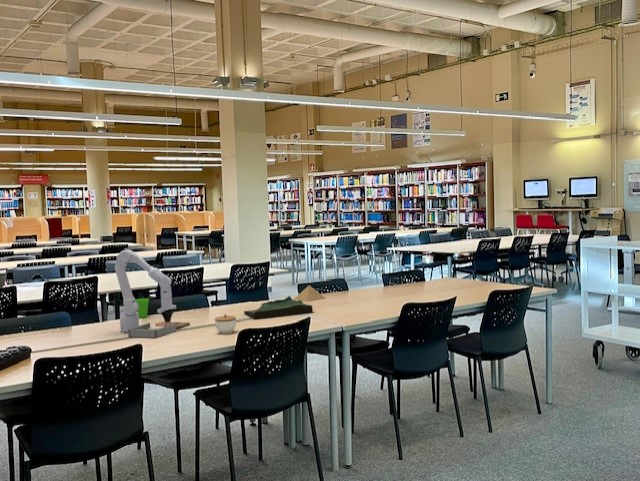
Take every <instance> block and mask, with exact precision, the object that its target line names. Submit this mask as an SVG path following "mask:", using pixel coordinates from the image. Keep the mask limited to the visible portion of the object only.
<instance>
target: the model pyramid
mask: <svg viewBox="0 0 640 481" xmlns="http://www.w3.org/2000/svg"><path fill="white" fill-rule="evenodd" d="M326 299H327V298H326V297H325V296H323V295H322V294H321V293H320V292H319V291H317V290H316V289H315V288H313V287H312V286H311V285H308V286H306V288H304V289H303V290H302V291H301V292H300V293H299V294H297V296H295V297H294V298H292V300H295V301H298V300H301V301H302V302H307V303H308V302H309V303H310V302H313V301H320V300H326Z"/></svg>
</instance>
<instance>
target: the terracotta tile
mask: <svg viewBox="0 0 640 481" xmlns="http://www.w3.org/2000/svg"><path fill="white" fill-rule="evenodd" d="M171 322H172V321H170V322H165V321H160V322H157V323H155V326H165V327H166V326H169V325H171Z"/></svg>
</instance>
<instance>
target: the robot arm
mask: <svg viewBox="0 0 640 481" xmlns="http://www.w3.org/2000/svg"><path fill="white" fill-rule="evenodd" d="M115 260H116V261H115V262H114V263H115V265H114V271H115V274H116V278H117V281H118V285H119V289H120V292H121V294H122V298H123V301H122V302H123V303H122V304H123V309H122V310H123V313H124V314H122V315H121V316H120V319H119V325H120V326H119V327H120V330H119V332H120V333H128V329H131V328H134V327H137V326H140V318H139V315H138V312H137V310H138V308H139V305H138V303H137V302H136V301H135V300H136V298H135V296H134V295H133V292H132V287H131V285H130V282H129V278H128V274H127V271H126V267H127V265H128V263H133V264H137V265H139V267H141V268H142V269H143V270H145V271H146V272H147V273H148V276H149V278H150V279H152V280H153V281H154V282H156V283H157V284H159V285H158V286H159V287H160V302H161V304H160V305H161V306H160V308H158V309H157V313H158V314H160V315H161V316H162V317H163V320H164V322H172V321H171V320H172V316H173V314H174V311H175V310H176V309H177V305H176V304H173V300H172V299H173V298H172V297H173V296H172V286H171V284H172V279H171V277H170V276H167V274H164V272H161V271H160V268H159V267H158V268H157V267H153V266H151V265H150V264H148V263H147V261H146V260H144V259H143V258H142V257H141V256H139V254H138V253H136V252H134V250H132V249H128V248H127V249H124V250H121V251H120V252H119V253H118V255H117V256H116V259H115ZM174 309H175V310H174Z"/></svg>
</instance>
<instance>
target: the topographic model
mask: <svg viewBox="0 0 640 481" xmlns="http://www.w3.org/2000/svg"><path fill="white" fill-rule="evenodd" d="M313 311H314V310H313V305H312V304H307V303H304V302H303V301H301V300H293V298H292V297H291V295H289V296H287V297H286V298H284V299H275V300H270V301H267V302H263V303H261V305H260V306H259V307H258V308H257V309H252V310H251V309H250V310H244V311H243V313H244V314H243V315H245V316H247V317H249V318H250V319H251V320H254V321H256V320H264V319H274V318H282V317H283V318H284V317H291V316H297V315H300V316H301V315H307V314H313Z"/></svg>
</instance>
